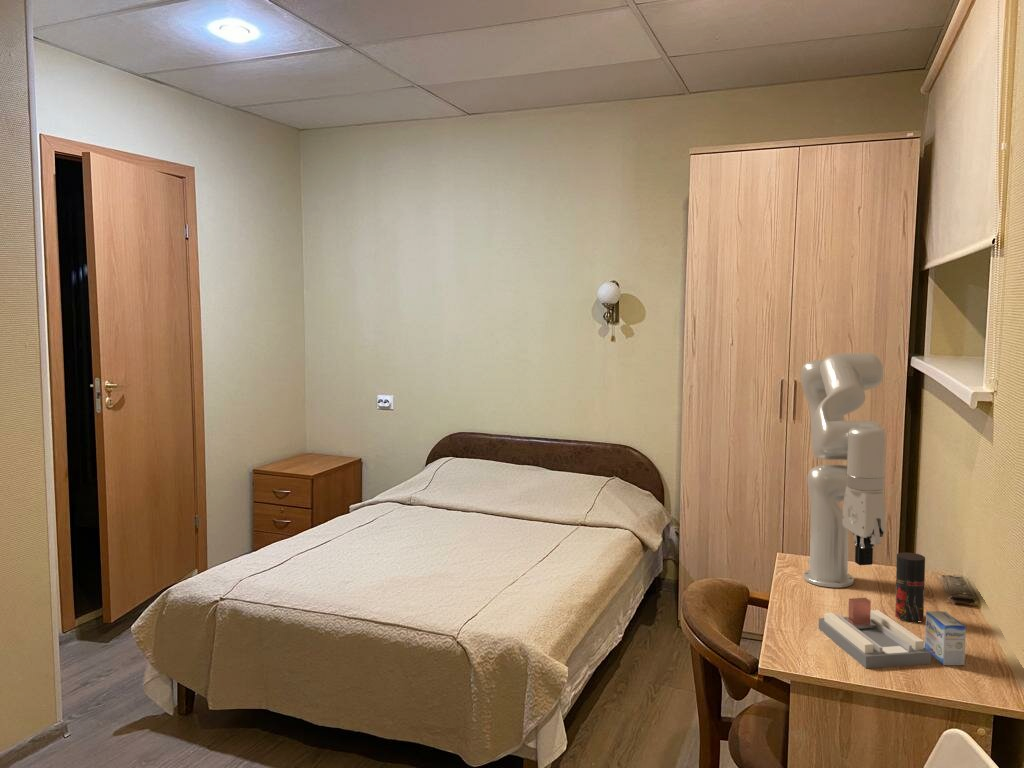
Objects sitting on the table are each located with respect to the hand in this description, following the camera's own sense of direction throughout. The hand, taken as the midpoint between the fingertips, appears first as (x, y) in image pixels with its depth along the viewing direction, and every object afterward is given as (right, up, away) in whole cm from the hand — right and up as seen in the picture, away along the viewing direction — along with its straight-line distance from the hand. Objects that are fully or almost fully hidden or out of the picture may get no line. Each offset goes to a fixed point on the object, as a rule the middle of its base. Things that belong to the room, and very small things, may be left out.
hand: (863, 563), depth 171 cm
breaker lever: (0, -14, +2) cm, 14 cm away
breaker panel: (+1, -17, -2) cm, 18 cm away
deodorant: (+16, -16, +12) cm, 26 cm away
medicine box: (+13, -18, -9) cm, 24 cm away
